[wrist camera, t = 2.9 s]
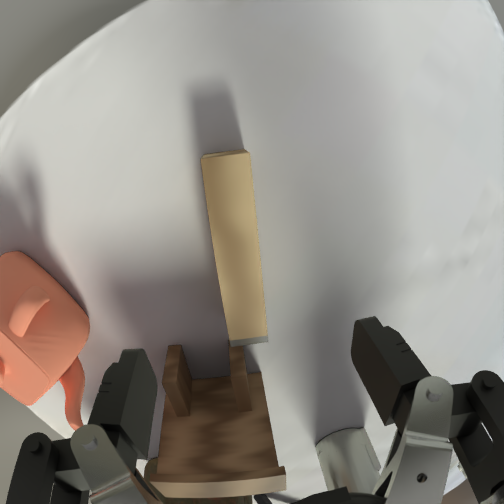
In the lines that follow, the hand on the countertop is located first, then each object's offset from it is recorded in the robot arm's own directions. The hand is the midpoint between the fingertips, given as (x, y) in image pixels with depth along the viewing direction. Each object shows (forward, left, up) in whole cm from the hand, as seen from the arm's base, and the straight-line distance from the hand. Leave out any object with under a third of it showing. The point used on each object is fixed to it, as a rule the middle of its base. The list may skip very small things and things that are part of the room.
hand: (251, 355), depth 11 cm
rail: (0, +2, -18) cm, 18 cm away
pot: (+26, +8, -18) cm, 33 cm away
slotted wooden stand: (+5, +19, -18) cm, 27 cm away
